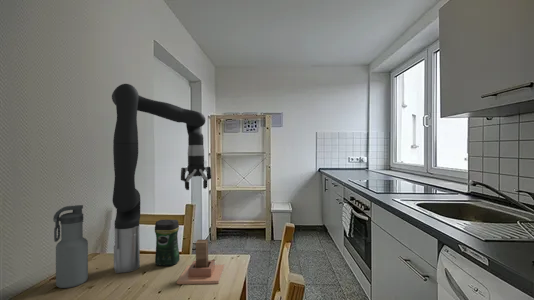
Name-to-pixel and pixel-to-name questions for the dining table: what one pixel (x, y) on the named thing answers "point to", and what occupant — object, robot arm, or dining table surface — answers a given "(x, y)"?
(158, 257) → the coffee jar
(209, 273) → the terracotta holder
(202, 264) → the walnut post
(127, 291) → the dining table surface
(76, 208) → the water bottle
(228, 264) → the dining table surface
